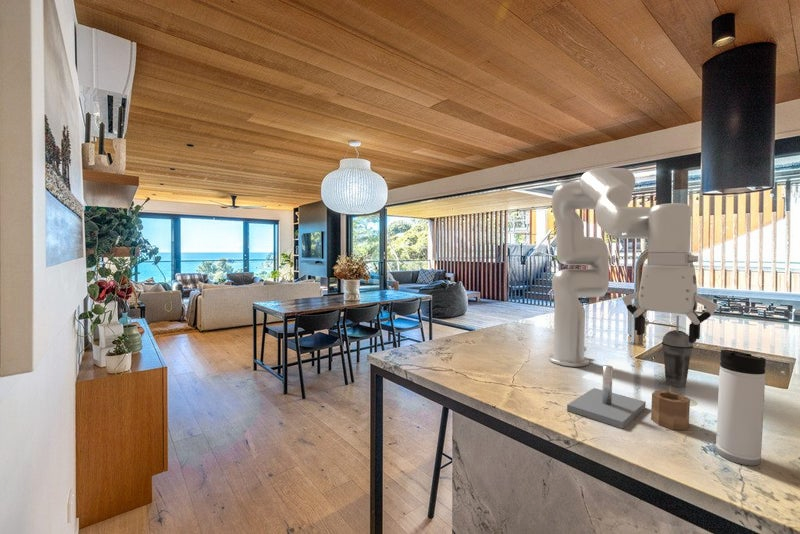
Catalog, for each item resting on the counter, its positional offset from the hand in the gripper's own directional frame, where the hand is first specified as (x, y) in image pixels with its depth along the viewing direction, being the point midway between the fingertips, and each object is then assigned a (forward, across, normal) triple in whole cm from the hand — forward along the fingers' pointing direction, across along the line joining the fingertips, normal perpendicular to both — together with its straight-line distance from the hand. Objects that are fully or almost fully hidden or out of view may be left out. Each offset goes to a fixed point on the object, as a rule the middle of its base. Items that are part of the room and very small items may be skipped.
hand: (665, 338), depth 83 cm
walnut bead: (+19, -1, -1) cm, 19 cm away
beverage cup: (+19, +4, -30) cm, 36 cm away
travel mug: (+19, -13, +6) cm, 24 cm away
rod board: (+19, +11, +2) cm, 22 cm away
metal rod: (+18, +11, +2) cm, 21 cm away
